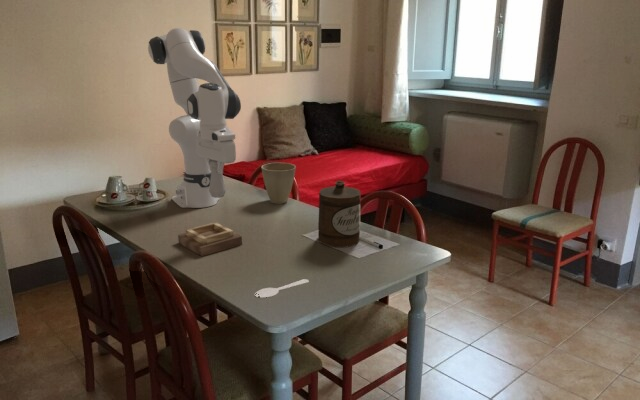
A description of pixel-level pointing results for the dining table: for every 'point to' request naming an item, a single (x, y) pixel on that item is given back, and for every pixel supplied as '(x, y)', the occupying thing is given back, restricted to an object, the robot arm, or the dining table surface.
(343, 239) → the wooden container
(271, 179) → the plant pot
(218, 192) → the salt shaker
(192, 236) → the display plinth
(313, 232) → the dining table surface
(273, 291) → the spoon
